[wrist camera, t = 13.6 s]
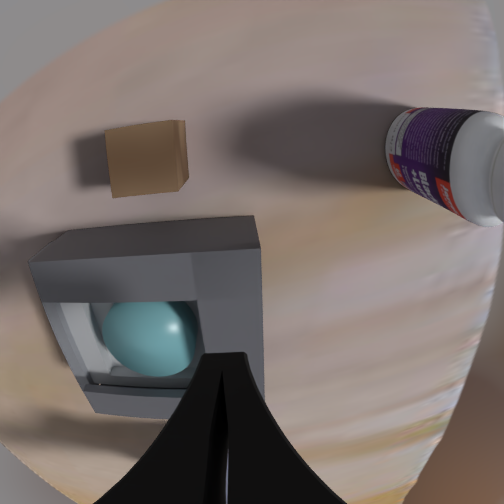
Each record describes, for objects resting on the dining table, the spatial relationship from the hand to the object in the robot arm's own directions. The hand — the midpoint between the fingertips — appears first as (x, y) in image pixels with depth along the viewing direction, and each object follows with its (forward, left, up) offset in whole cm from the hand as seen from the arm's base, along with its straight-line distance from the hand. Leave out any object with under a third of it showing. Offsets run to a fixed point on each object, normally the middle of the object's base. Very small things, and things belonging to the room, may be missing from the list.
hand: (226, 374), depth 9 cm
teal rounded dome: (-5, +4, -8) cm, 10 cm away
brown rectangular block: (+5, +5, -10) cm, 12 cm away
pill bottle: (+9, -10, -10) cm, 17 cm away
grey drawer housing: (-5, +4, -10) cm, 12 cm away
